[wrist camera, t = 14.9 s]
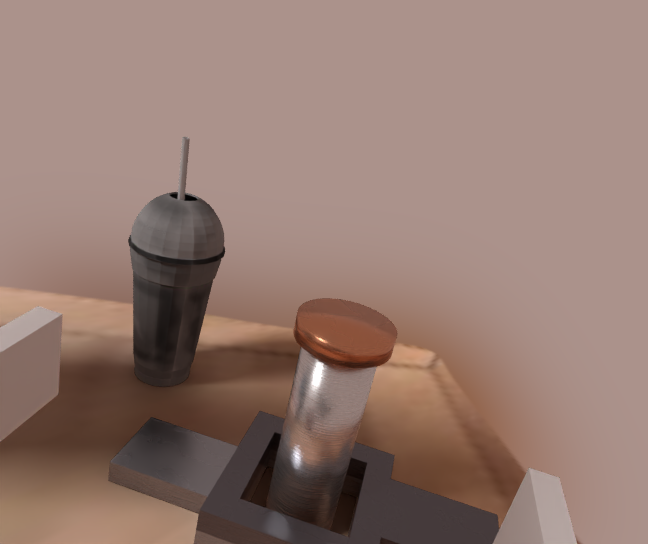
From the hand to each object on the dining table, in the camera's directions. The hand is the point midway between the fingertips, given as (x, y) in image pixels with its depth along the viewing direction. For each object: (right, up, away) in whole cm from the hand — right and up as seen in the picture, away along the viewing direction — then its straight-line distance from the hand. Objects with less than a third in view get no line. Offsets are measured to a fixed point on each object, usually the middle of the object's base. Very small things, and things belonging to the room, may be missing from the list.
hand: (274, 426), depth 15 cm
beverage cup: (-12, -4, +32) cm, 34 cm away
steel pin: (0, -12, +20) cm, 23 cm away
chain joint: (0, -12, +20) cm, 23 cm away
